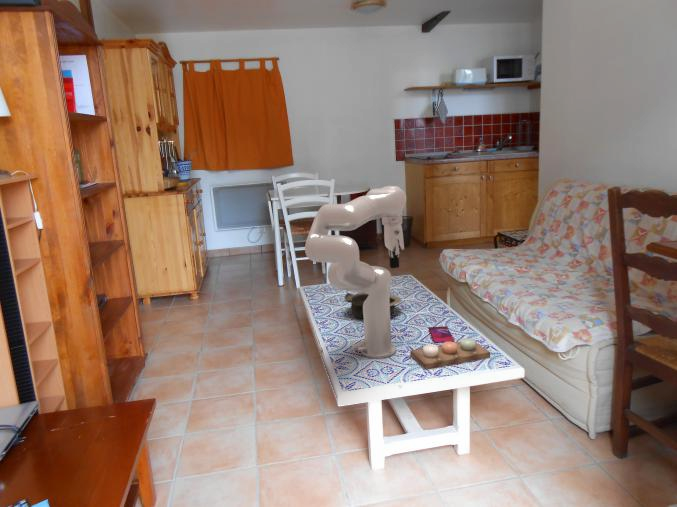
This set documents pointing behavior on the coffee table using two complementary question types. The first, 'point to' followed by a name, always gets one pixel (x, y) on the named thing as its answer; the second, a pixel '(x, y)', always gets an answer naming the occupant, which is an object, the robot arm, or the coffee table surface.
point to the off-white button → (430, 350)
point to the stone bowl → (359, 299)
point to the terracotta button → (449, 347)
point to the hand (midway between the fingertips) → (394, 267)
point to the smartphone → (440, 334)
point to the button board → (449, 356)
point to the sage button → (467, 344)
